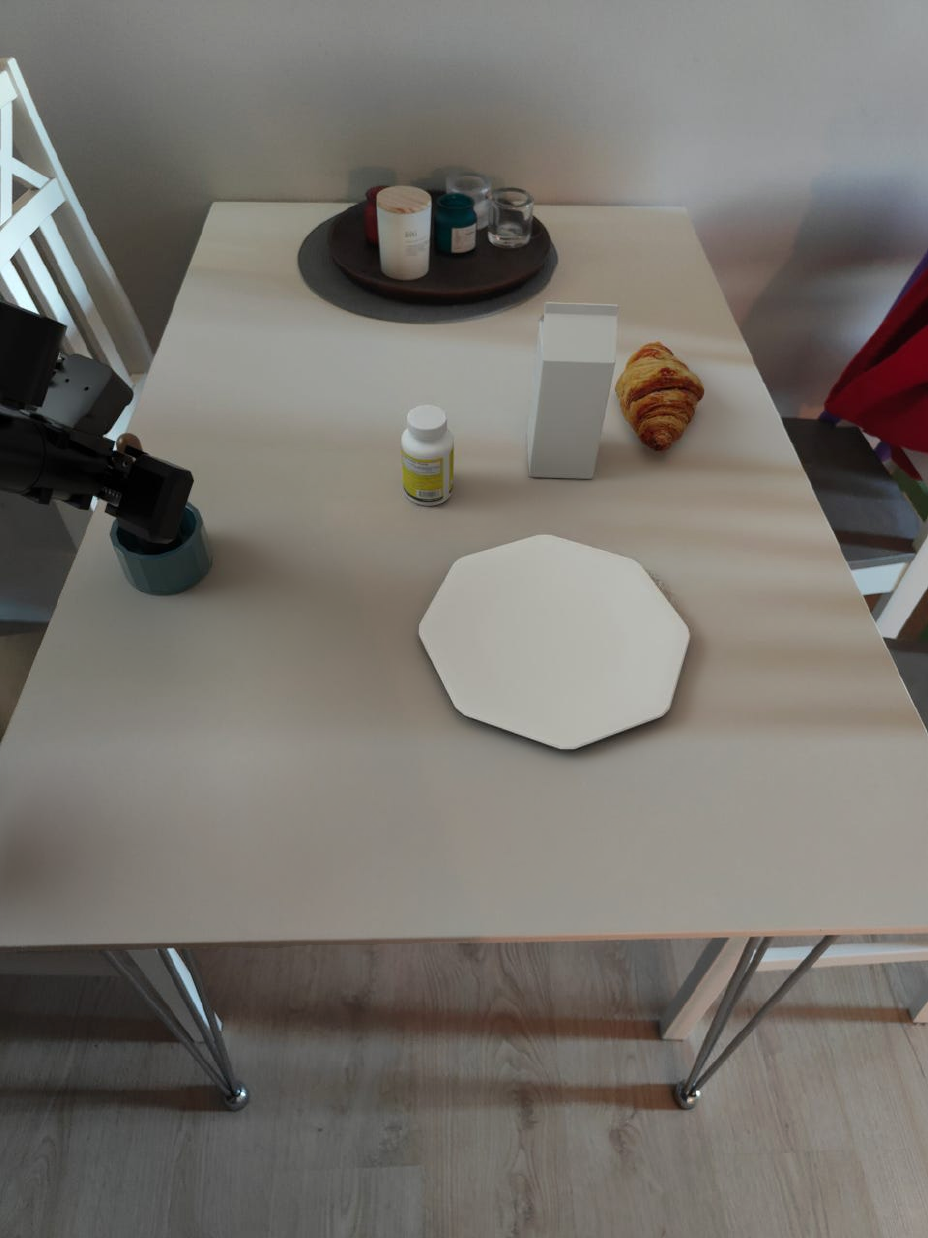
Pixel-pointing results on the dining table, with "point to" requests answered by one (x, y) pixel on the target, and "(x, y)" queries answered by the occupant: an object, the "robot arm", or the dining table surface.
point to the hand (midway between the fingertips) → (154, 482)
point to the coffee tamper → (145, 545)
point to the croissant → (658, 395)
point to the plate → (555, 641)
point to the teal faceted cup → (166, 557)
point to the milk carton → (570, 388)
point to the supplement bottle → (427, 456)
